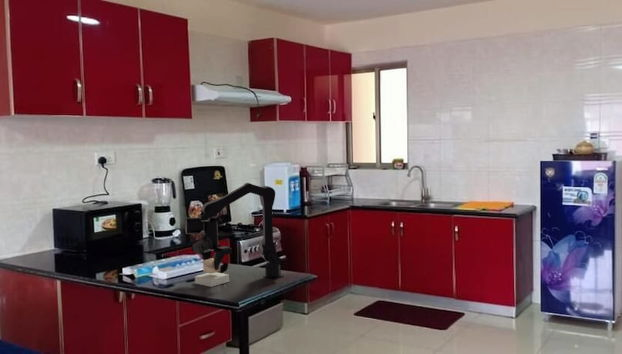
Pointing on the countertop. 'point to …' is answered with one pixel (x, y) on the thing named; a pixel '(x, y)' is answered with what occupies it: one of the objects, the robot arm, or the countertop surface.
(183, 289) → the countertop surface
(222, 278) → the riser
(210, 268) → the birch cube
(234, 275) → the countertop surface
